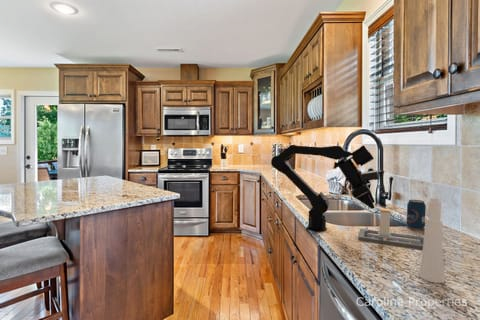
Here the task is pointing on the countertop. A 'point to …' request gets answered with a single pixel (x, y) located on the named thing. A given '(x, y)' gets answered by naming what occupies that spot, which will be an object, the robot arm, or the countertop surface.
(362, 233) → the grey slider track
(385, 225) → the fader
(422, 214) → the soda can
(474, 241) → the countertop surface
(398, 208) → the countertop surface
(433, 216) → the cosmetic bottle
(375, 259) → the countertop surface
